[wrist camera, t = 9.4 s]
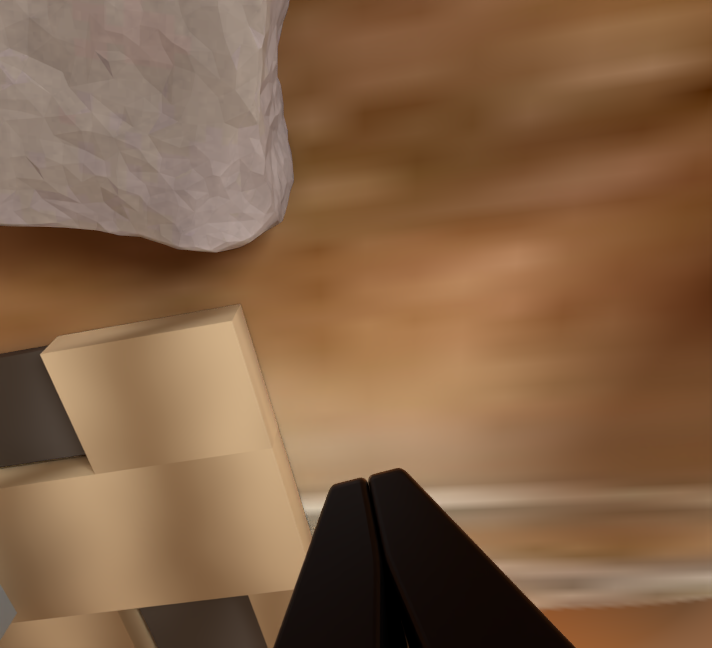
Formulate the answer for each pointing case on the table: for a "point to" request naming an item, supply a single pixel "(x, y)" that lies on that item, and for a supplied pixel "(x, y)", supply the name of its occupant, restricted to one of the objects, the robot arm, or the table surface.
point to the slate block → (5, 612)
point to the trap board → (146, 490)
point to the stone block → (144, 119)
